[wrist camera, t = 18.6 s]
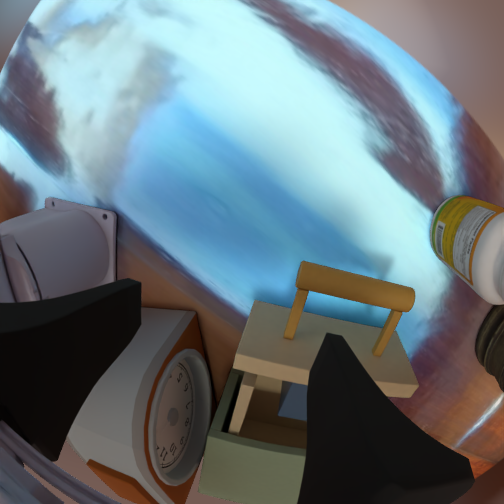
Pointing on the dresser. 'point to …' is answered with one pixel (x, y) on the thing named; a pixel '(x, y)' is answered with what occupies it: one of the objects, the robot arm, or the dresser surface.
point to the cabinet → (247, 460)
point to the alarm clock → (150, 412)
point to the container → (492, 344)
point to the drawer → (315, 349)
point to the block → (293, 401)
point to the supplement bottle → (472, 243)
